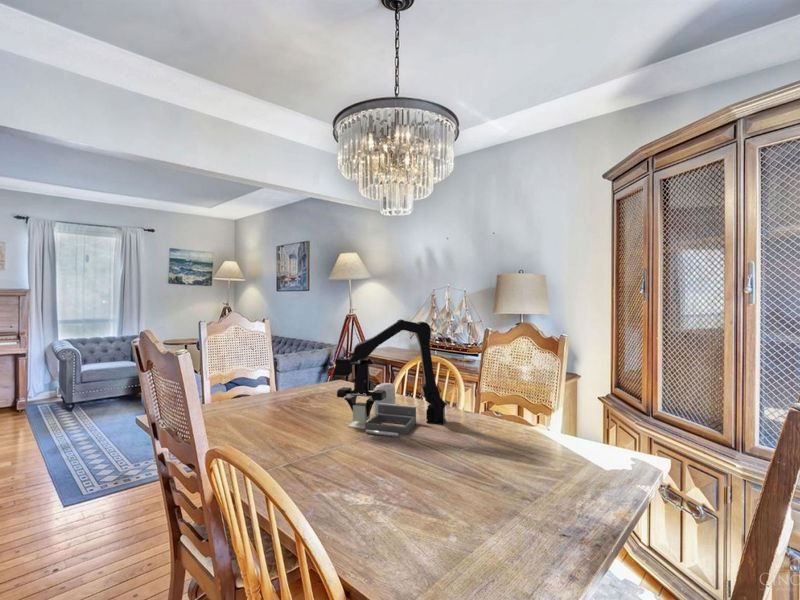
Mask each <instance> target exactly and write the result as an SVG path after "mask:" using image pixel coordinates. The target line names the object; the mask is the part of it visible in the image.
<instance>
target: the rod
mask: <svg viewBox="0 0 800 600" xmlns="http://www.w3.org/2000/svg"><path fill="white" fill-rule="evenodd" d="M365 434H368V435H377V436H385V437H386V436H387V437H394V438H399V435H400V434H398V433H394V432H385V431H376V430H367V429H366V430H365Z"/></svg>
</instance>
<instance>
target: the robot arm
mask: <svg viewBox="0 0 800 600" xmlns="http://www.w3.org/2000/svg"><path fill="white" fill-rule="evenodd" d="M403 331H406V332H409V333H410V332H411V333H414V334H415V337H416V340H417V342H418V346H419V352H420V359H421V368H422V373H423V383H422V384H419V386H420V388H421V393H420V394H421V396H422V397H423V399H425V400H426V402H427V403H428V406H427V409H425V410H426V423H427V424H437V425H443V424H444V423H445V422H446V420H447V419H446V404H447V402H445V400H444V399H443V398H442V397H441V395H440V391H439V388H438V385H437V383H436V379H435V375H434V368H433V359H432V352H431V346H430V344H431V338H432V337H431V335H432V329H431V325H430V324H429V323H427V322H425V321H418V322H414V321H408V320H404V319H401V318H400V319H398V320H397V321H396V322H395V323H393V324H391V325H389V326H388V327H387V328H385V329H383V330H382V331H380V332H378V333H377V334H376V335H374V336H373V337H370V338H368V339H365V340H363V341H361V342H358V343H356V345H354V347H353V348H354V349H353V352H352V354H351V355H350V357H349V358H341V357H340V358H338V357H337V358H335V361H334V362H335V363H334V376H335V377H350V375H351V374H353V378H352V382H353V389H352V387H346V386H345V387H344V386H343V387H341V388H339V389H338V390H337V391H336V397H337V398H342V399H344V401H346V402H347V404H348V406H349V407H350V410H351V412H352V413H353V405H355V404H356V403H357V398H358V397H367V398H368V399H367V400H366V401H365V403H366V413H367V417H368V416H369V414H370V415H371V412H372V408H373V407H374V402H375V401H376V400H378V401H381V400H383V399H385V398H386V391H385V390H375V391H374V388H375V382H374V381H372V380H371V377H370V365H374V363H375V362H374V361H373V360H372V359H371V357H369V356H370V355H371V354H372V352H373V353H374V351H375V350H376V349H377V347H379V346H380V345H382V344H384V343H385V342H386V341H388V340H389V339H391V338H393V337H394V336H396V335H397V334H398V333H400V332H403ZM366 358H367V359H366Z"/></svg>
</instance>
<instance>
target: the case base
mask: <svg viewBox="0 0 800 600" xmlns="http://www.w3.org/2000/svg"><path fill="white" fill-rule="evenodd" d="M378 422H384V423H392V424H393V423H394V424H403V425H404V424H405V425H404V426H400V425H391V424H380V423H378ZM415 424H416V423H415V417H411V416H401V415H391V414H380V413H377V414H375V415H374V416H373V417H372V418H370V419H369V421H368V422H366V423H365V429H364V430H365V431H366V429H367V430H376V431H385V432H394V433H398V434H399V435H407V433H408V432H409V431H411V429H412V428H413V427H414V426H415Z"/></svg>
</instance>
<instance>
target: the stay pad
mask: <svg viewBox="0 0 800 600" xmlns="http://www.w3.org/2000/svg"><path fill="white" fill-rule="evenodd" d="M369 420H370V419H369ZM369 420H367V421H366V422H368V421H369ZM366 422H357V421H353V422H351V423H349V424H348V425H347V427H348V428H354V429H363V430H365V423H366Z"/></svg>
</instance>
